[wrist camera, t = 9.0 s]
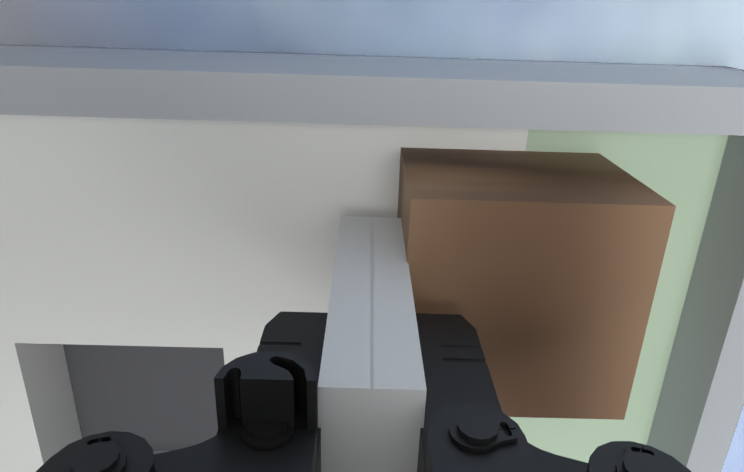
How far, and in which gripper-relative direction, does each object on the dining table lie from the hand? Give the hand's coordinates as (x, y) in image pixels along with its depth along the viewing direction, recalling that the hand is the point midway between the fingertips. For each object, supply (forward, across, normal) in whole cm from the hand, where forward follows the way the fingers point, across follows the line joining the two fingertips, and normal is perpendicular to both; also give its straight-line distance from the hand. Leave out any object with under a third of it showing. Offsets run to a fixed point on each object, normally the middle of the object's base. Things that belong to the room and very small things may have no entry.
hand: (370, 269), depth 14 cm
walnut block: (+2, +3, 0) cm, 4 cm away
